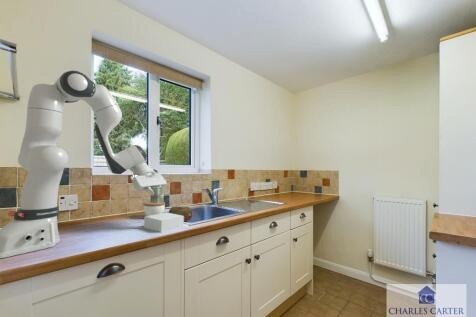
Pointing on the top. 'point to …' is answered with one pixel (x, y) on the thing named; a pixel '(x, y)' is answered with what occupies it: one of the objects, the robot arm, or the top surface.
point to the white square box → (163, 221)
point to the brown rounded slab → (182, 212)
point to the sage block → (157, 195)
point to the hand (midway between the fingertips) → (158, 193)
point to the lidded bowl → (153, 208)
